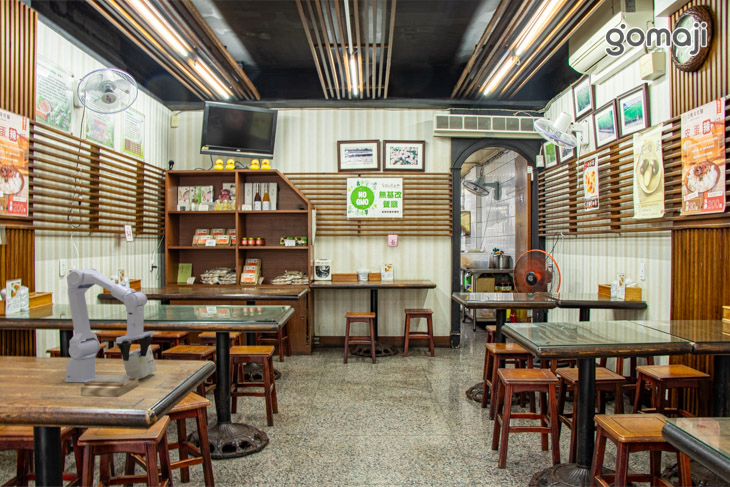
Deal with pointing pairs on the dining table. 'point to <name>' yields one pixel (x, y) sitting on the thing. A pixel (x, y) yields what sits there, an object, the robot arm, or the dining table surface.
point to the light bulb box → (140, 364)
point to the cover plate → (110, 379)
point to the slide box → (108, 388)
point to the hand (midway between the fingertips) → (134, 358)
